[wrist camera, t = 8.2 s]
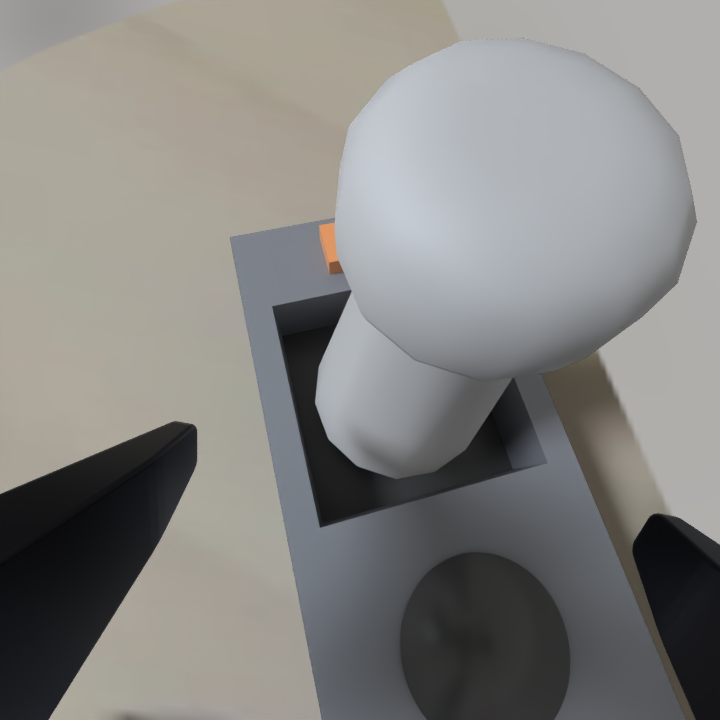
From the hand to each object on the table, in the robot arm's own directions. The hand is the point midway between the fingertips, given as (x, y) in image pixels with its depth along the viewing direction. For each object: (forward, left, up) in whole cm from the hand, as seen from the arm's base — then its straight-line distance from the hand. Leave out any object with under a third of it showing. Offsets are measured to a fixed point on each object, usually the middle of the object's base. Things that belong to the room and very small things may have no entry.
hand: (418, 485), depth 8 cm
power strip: (-5, -2, -8) cm, 10 cm away
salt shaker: (+3, -1, -8) cm, 9 cm away
